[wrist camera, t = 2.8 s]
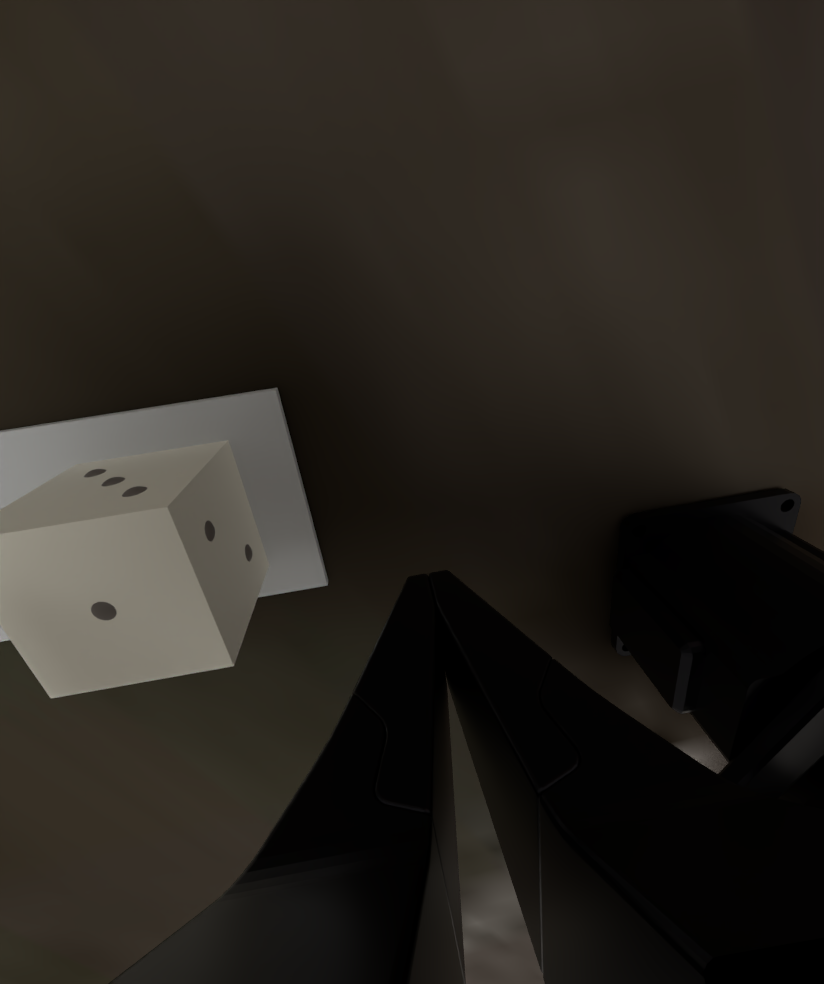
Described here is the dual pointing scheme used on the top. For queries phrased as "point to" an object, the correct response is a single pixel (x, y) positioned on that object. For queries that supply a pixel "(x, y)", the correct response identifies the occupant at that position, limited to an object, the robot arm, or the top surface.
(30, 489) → the mat
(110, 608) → the die
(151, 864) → the top surface
